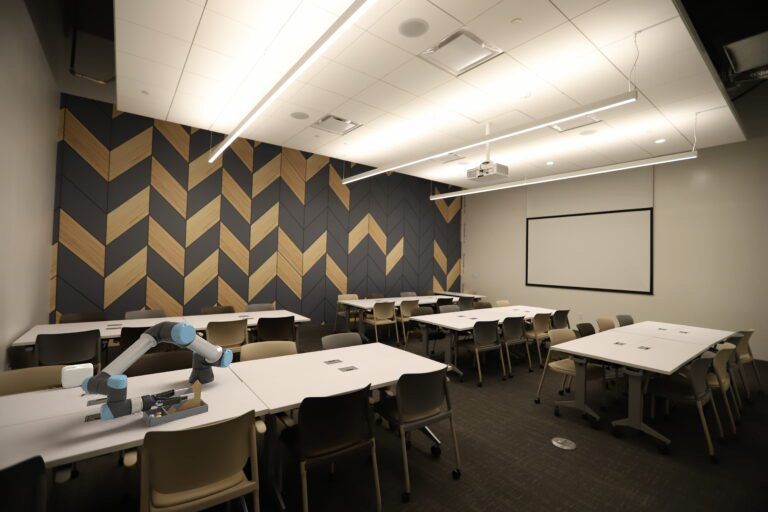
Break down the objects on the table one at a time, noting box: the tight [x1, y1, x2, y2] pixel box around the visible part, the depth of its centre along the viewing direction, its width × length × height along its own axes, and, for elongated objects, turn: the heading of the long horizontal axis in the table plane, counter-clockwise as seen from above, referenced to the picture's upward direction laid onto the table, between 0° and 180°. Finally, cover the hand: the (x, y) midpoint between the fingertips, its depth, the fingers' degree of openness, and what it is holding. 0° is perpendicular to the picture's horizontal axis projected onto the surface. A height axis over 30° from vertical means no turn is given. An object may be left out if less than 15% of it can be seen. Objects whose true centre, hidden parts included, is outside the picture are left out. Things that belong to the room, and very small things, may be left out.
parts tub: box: [142, 398, 209, 428], centre depth 186 cm, size 27×13×4 cm, turn 136°
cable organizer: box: [61, 362, 94, 389], centre depth 223 cm, size 15×11×12 cm
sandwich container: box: [167, 380, 202, 414], centre depth 189 cm, size 9×15×15 cm, turn 129°
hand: (190, 392), depth 191 cm, fingers closed on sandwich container, 8 cm apart
